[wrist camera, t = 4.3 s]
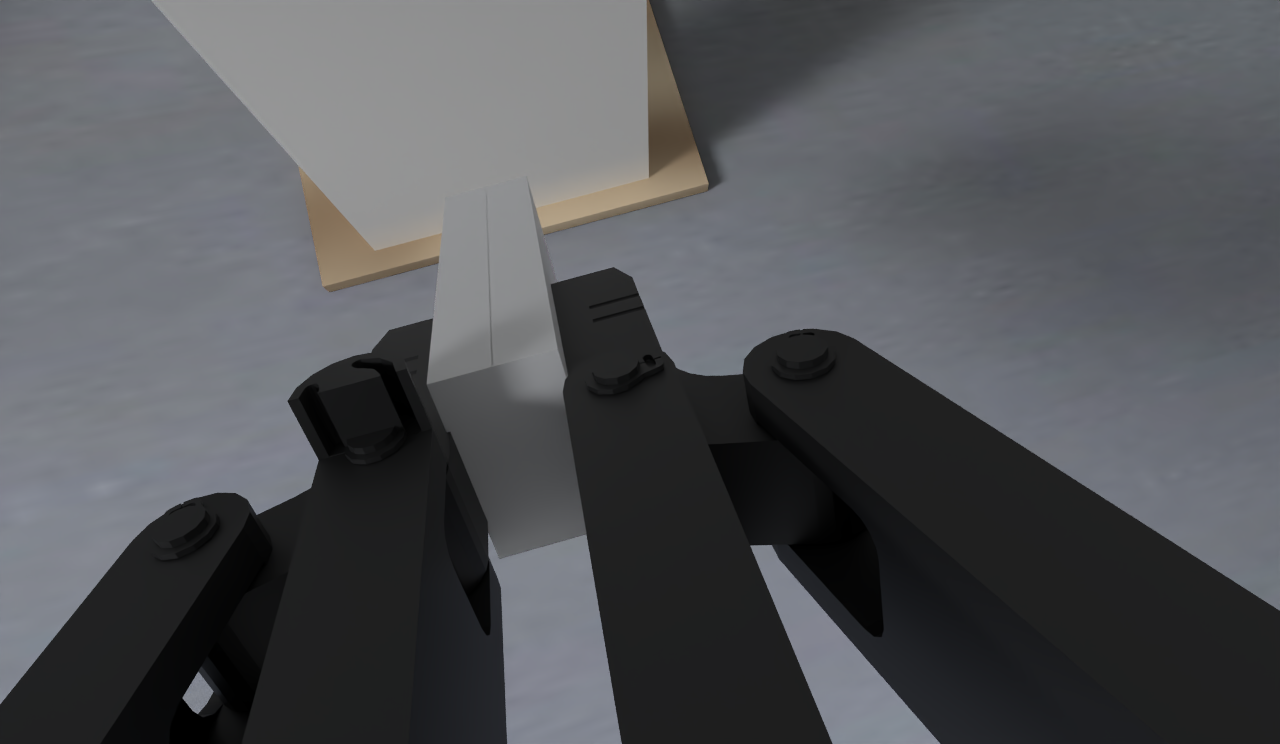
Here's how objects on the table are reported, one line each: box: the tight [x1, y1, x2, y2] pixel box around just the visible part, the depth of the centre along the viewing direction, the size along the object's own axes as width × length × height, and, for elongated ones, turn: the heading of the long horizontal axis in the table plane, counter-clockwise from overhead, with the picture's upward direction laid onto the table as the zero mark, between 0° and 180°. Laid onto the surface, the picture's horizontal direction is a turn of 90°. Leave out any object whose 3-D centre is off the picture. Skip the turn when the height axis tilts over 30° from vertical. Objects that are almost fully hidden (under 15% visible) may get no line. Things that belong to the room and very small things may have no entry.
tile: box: [151, 0, 649, 251], centre depth 22 cm, size 3×10×14 cm, turn 106°
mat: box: [298, 0, 709, 292], centre depth 31 cm, size 18×14×1 cm
